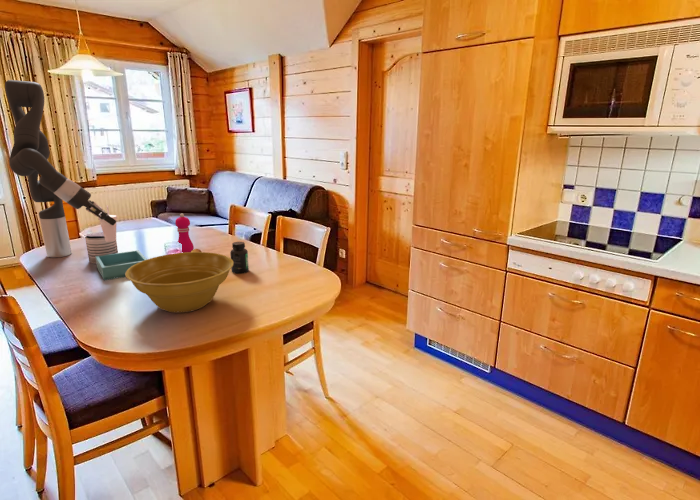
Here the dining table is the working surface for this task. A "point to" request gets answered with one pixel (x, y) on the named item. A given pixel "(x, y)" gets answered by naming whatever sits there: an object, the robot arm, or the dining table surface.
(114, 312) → the dining table surface
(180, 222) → the pepper mill
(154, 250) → the dining table surface
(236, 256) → the supplement bottle
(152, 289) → the planter bowl
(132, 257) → the tote
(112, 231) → the smoothie
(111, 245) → the can
